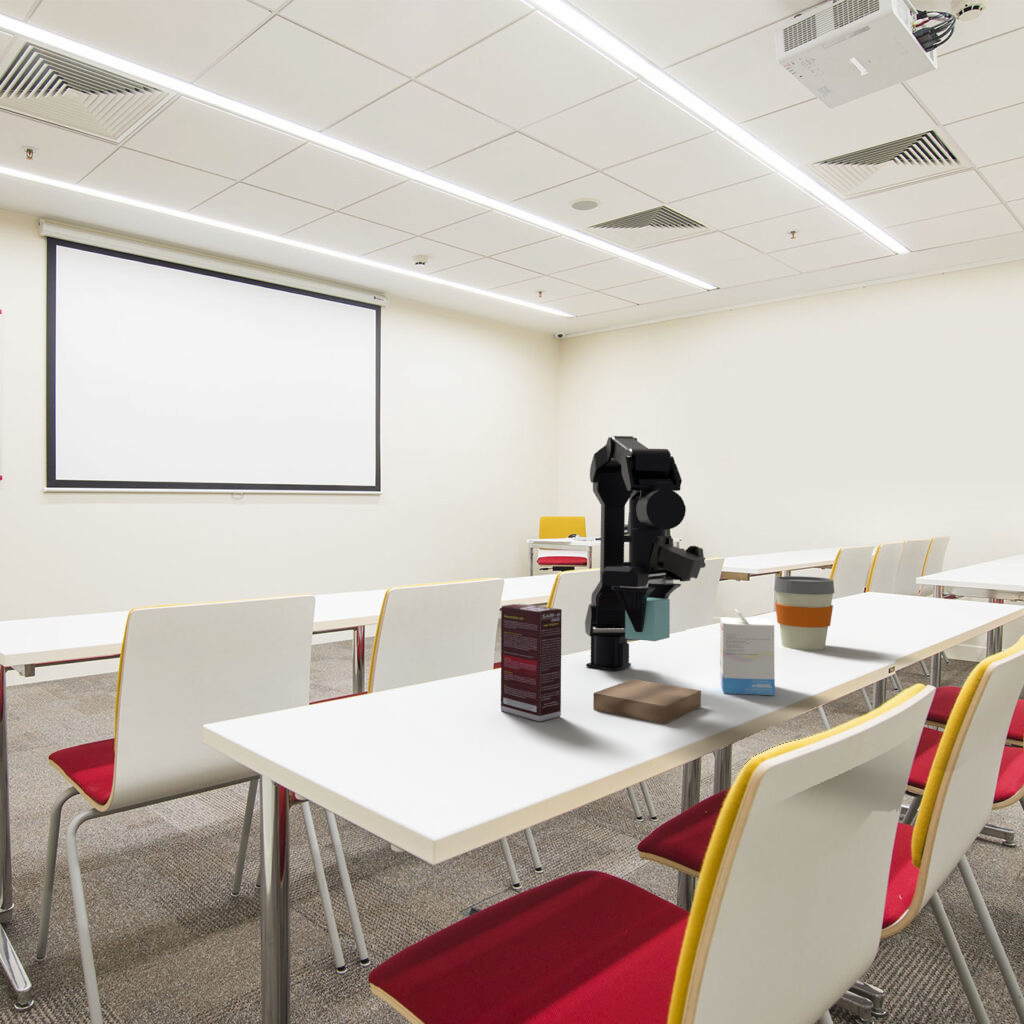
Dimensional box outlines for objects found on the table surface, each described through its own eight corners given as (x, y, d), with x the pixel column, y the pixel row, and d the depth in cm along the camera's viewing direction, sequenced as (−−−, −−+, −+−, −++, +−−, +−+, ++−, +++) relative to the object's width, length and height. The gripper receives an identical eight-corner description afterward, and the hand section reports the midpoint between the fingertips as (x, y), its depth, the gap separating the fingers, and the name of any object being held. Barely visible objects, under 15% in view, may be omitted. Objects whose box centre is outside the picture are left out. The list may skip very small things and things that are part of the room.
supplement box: (562, 716, 112) (563, 608, 112) (539, 723, 109) (540, 611, 109) (521, 705, 119) (522, 602, 119) (498, 710, 115) (499, 605, 115)
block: (625, 638, 118) (625, 599, 118) (640, 634, 122) (640, 596, 122) (654, 641, 115) (654, 601, 115) (669, 637, 119) (669, 598, 119)
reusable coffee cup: (843, 652, 164) (844, 582, 164) (784, 651, 165) (785, 581, 164) (820, 641, 177) (821, 576, 177) (765, 640, 177) (766, 575, 177)
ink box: (775, 696, 126) (776, 614, 125) (722, 693, 127) (723, 612, 127) (768, 684, 134) (769, 607, 134) (718, 681, 136) (719, 606, 136)
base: (593, 709, 117) (593, 693, 117) (632, 694, 126) (632, 679, 126) (665, 723, 109) (665, 706, 109) (700, 706, 119) (701, 690, 119)
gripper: (667, 529, 107) (667, 642, 107) (721, 529, 122) (721, 628, 121) (599, 529, 114) (598, 634, 113) (657, 529, 128) (657, 622, 128)
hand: (647, 630), depth 119 cm, fingers closed on block, 5 cm apart
